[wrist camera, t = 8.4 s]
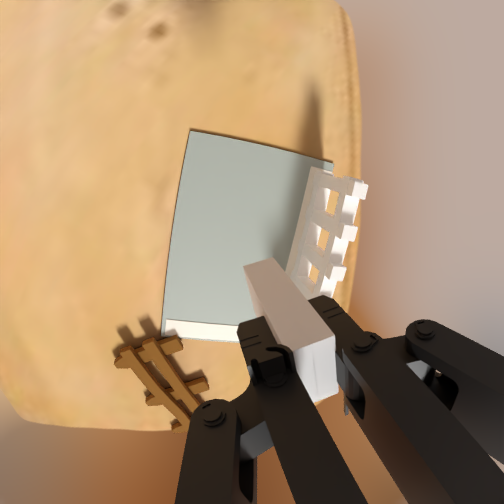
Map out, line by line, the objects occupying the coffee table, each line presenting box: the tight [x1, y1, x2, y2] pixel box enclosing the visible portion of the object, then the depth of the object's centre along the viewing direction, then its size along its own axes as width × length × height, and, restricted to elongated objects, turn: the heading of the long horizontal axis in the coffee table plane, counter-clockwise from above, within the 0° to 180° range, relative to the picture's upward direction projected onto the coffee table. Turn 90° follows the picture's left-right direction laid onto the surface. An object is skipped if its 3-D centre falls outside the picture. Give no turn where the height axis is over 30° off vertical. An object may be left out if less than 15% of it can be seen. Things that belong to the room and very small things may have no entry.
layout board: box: [161, 131, 334, 343], centre depth 35 cm, size 25×17×1 cm
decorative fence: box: [114, 334, 209, 433], centre depth 40 cm, size 25×2×10 cm
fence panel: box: [290, 170, 368, 300], centre depth 32 cm, size 18×2×9 cm, turn 168°
